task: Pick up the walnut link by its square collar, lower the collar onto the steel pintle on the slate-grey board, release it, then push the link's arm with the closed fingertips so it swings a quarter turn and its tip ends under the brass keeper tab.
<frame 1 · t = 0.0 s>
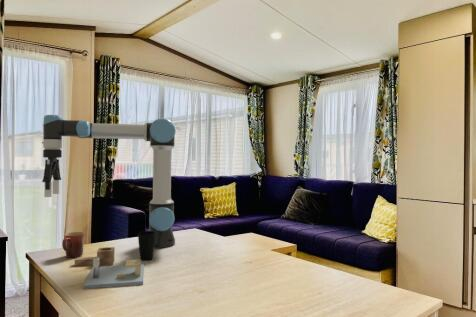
hand: (52, 195, 163), 28 cm above the counter, fingers open, 13 cm apart
cup: (146, 259, 160), on the counter
keeper: (129, 268, 136), on the board, point 4 cm above the counter
link: (75, 264, 151), on the counter
pintle: (96, 267, 133), on the board, point 5 cm above the counter
mug: (72, 257, 163), on the counter
board: (116, 276, 137), on the counter
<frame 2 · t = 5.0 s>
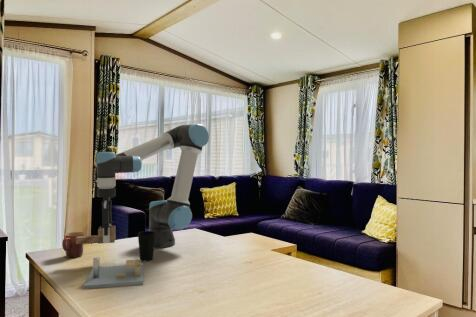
hand: (107, 240, 155), 10 cm above the counter, fingers closed on link, 6 cm apart
link: (76, 243, 152), point 9 cm above the counter, touching gripper
everything else where it was.
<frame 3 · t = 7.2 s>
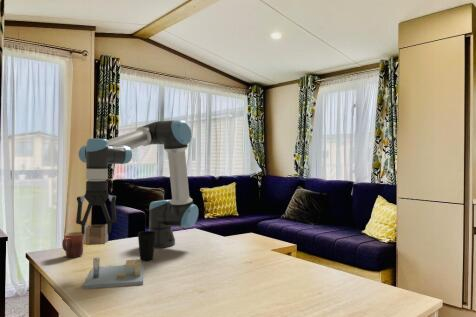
hand: (96, 242, 133), 14 cm above the counter, fingers closed on link, 6 cm apart
link: (100, 235, 145), point 14 cm above the counter, touching gripper
everything else where it was.
when the fingers open (2 cm above the counter, at t = 9.7 s): link stays where it is, resting on board.
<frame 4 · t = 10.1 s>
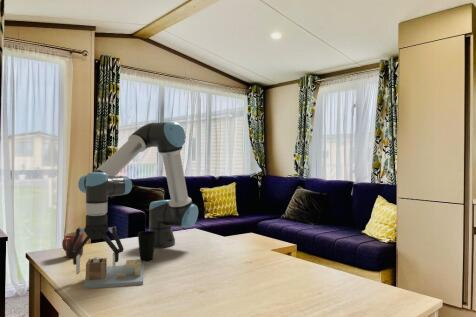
hand: (96, 272, 133), 3 cm above the counter, fingers open, 12 cm apart
link: (100, 267, 145), point 1 cm above the counter, touching board
everything else where it was.
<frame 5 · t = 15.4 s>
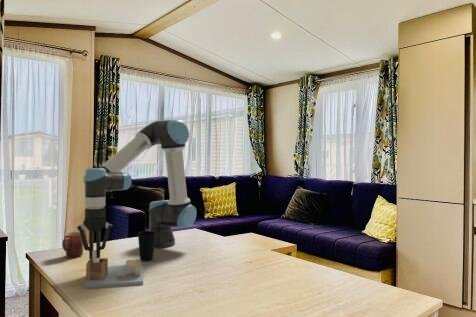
hand: (94, 267, 140), 3 cm above the counter, fingers closed
link: (103, 266, 145), point 1 cm above the counter, touching board, gripper
everything else where it was.
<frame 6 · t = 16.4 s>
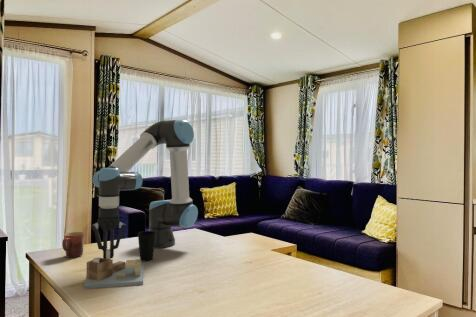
hand: (108, 266, 141), 3 cm above the counter, fingers closed
link: (122, 267, 144), point 1 cm above the counter, touching gripper
everything else where it was.
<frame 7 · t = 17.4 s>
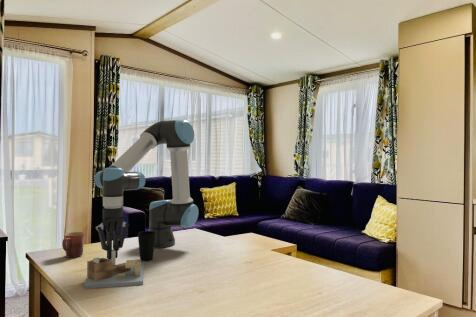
hand: (112, 266, 140), 3 cm above the counter, fingers closed
link: (128, 269, 142), point 1 cm above the counter, touching board, gripper
everything else where it was.
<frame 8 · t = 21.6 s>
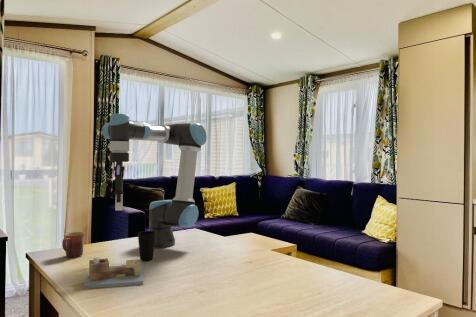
hand: (118, 210, 145), 24 cm above the counter, fingers closed
link: (132, 273, 138), point 1 cm above the counter, touching board, pintle
everything else where it was.
at the end: link inside the target area on the counter beside the pintle (1.1 cm from its centre), point 1.2 cm above the counter; link tilted 0°; the gripper is holding nothing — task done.
